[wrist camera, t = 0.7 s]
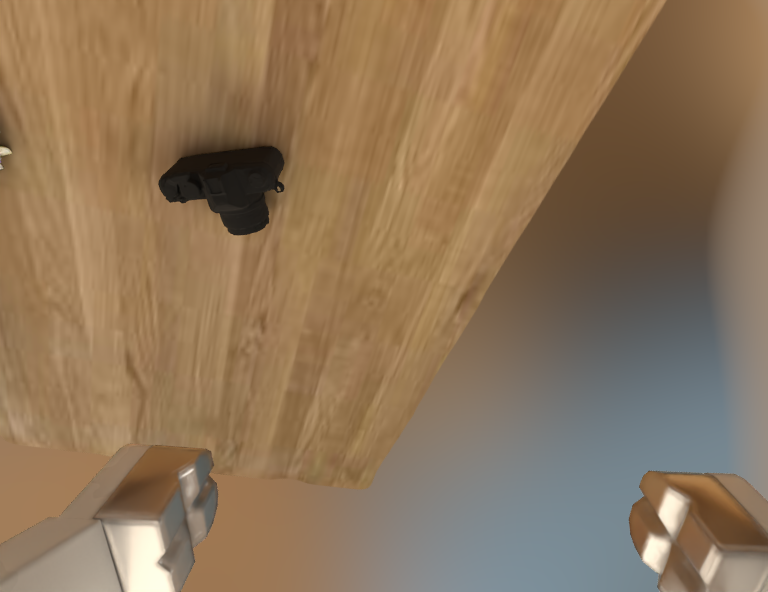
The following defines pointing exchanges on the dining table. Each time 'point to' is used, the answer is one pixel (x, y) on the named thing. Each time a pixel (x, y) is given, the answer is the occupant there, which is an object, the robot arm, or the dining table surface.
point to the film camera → (228, 184)
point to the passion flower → (4, 154)
